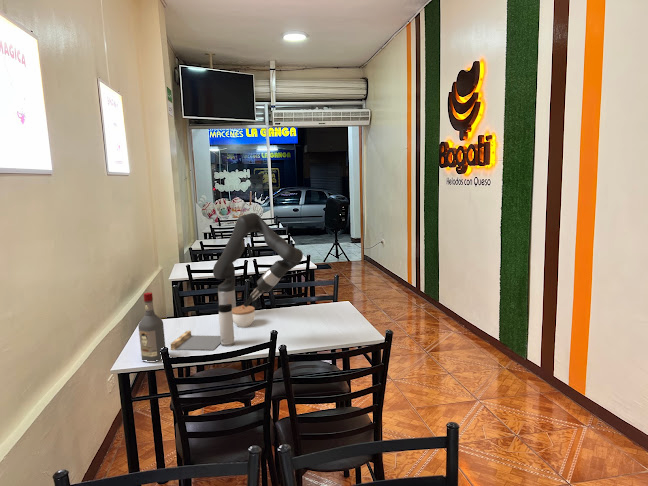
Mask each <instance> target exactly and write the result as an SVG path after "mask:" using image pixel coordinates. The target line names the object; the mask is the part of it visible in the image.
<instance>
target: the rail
mask: <svg viewBox="0 0 648 486" xmlns="http://www.w3.org/2000/svg"><path fill="white" fill-rule="evenodd" d="M191 335H192V330H186V331H185V332H184V333H182V334H181V335H180V336H179V337H177V338H176V339H175V340H173V341H172V342H171V343H170V351H176V350H175V349H176V348H177V347H178V346H179V345H180V344H182V343H183V342H184V341H185V340H186V339H188V338H189V337H190V336H191Z"/></svg>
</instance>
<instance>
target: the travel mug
mask: <svg viewBox="0 0 648 486" xmlns="http://www.w3.org/2000/svg"><path fill="white" fill-rule="evenodd" d="M217 307H218V320H219V333H220V335H219V336H221V344H220V345H221V346H222V347H231V346H233V345H235V331H234V322H233V315H232V304H227V305H219V304H218V306H217Z"/></svg>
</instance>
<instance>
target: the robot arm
mask: <svg viewBox="0 0 648 486" xmlns="http://www.w3.org/2000/svg"><path fill="white" fill-rule="evenodd" d="M253 232H259V233H261V234H262V236H263V239H264V242H265V244H266V245H267V247H269V248H270V249H271V250H273V251H274V252H276V253H277V255H278V256H279V257H280V258H281V259H278V260H277V261H275V262H274V263H273V264H272V265H271V266H270V267H269V268H268V269H267V270H266V271H265V272H264V273H263V274H262V275H261V276H260V278H259V279H258V280H256V285H257V287H255V288H254V289H253V291H251V293H250V295H249V297H247V300H245V301H244V303H243V304H242V305H244V306H245V307H247V306H250V304H251V303H253V302H254V301H255V300H257V299H258V298H259V297H260V296H261V295H262V294H263V293H264V292H265V293H269V292H270V291H271V290H272V289H273V288H274V287H275V286H276V285H277V284H278V283H279V281H280V280H281V279H282V278H283V277H284V276H285V274H287V272H289V271H291V270H292V269H293V268H295V267H296V266H298V265H299V264H300V263H301V261H302V259H303V257H304V253H303V252H302V250H301V249H299V248H296V247H294V246H293V245H291V244H289V243H288V242H287V240H286V239H284V238H283V237H282V236H280V235H279V234H277V232H275V231H274V230H273V229H272V228H271V227H270V226H269V224H267V223H266V221H264V220H263V219H262V217H261V216H260V215H259V214H257V213H255V212H250V213H246V214H243V215H241V216H239V217H238V218H237V220H236V222H235V224H234V227H233V231H232V233H231V236H230V237H229V239H228V241H227V243H226V245H225V247H224V249H223V250H222V251H223V252H222V253H221V255H220V257H219V258H218V260H216V262H215V264H214V265H213V269H212V274H213V276H214V278H215V279H216V280H224V279H225V280H224V281H223V282H221V283H220V284H219V285H218V286H217V297H218V306H219V305H227V304H232V309H233V308H235V307H237V304H236V303H237V302H236V291H235V290H236V289H235V287H236V271H235V270H236V268H235V265H234V262H236V261H237V260H238V259H239V258H240V257H241V256H242V254H243V253H244V251H245V249H246V243H245V241H244V239H245V237H246V236H247V235H248V234H251V233H253Z"/></svg>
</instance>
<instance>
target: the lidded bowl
mask: <svg viewBox="0 0 648 486" xmlns="http://www.w3.org/2000/svg"><path fill="white" fill-rule="evenodd" d="M255 310H256V308H255V307H254V306H252V305H248V306H247V307H245V306H244V305H243V304H242V305H239V306H236V307H235V308H233V309H232V315H233V324H234V325H236V327H238V328H246V327H250V326H251V324H253V322H254V320H255V315H256V314H255V313H256V312H255Z"/></svg>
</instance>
